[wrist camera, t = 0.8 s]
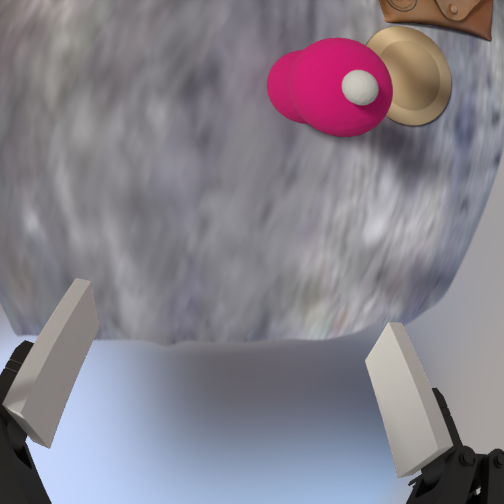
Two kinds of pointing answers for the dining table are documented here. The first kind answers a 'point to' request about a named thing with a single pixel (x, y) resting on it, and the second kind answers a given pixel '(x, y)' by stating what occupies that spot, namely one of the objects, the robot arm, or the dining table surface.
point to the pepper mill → (332, 87)
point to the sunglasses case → (443, 14)
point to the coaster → (413, 74)
